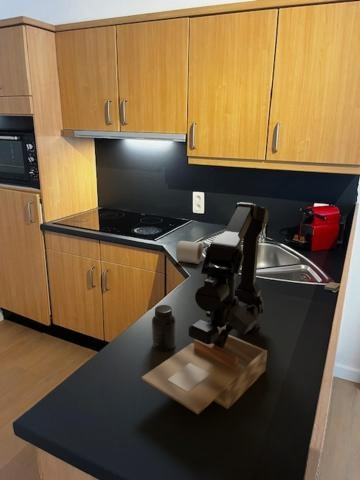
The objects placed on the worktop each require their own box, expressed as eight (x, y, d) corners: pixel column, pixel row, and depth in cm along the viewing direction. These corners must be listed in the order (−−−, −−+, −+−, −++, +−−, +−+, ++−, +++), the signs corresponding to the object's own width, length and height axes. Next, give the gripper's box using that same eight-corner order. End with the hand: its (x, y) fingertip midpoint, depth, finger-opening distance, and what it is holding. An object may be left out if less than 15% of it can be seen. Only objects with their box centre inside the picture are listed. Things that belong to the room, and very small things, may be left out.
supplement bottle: (163, 336, 109) (162, 300, 105) (180, 344, 104) (180, 307, 101) (147, 346, 103) (146, 309, 100) (164, 355, 99) (164, 316, 96)
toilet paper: (202, 259, 175) (203, 240, 172) (195, 266, 166) (196, 246, 163) (183, 257, 178) (183, 238, 175) (176, 263, 169) (176, 243, 166)
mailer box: (215, 347, 103) (216, 329, 101) (265, 370, 93) (267, 350, 91) (174, 378, 90) (174, 357, 88) (227, 409, 80) (228, 386, 78)
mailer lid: (191, 344, 93) (191, 334, 92) (245, 370, 83) (245, 359, 82) (141, 379, 80) (141, 367, 79) (198, 414, 70) (198, 401, 69)
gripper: (229, 319, 72) (226, 383, 77) (271, 290, 86) (266, 346, 90) (187, 302, 79) (186, 362, 84) (232, 278, 93) (229, 331, 97)
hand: (219, 350), depth 89 cm, fingers closed
